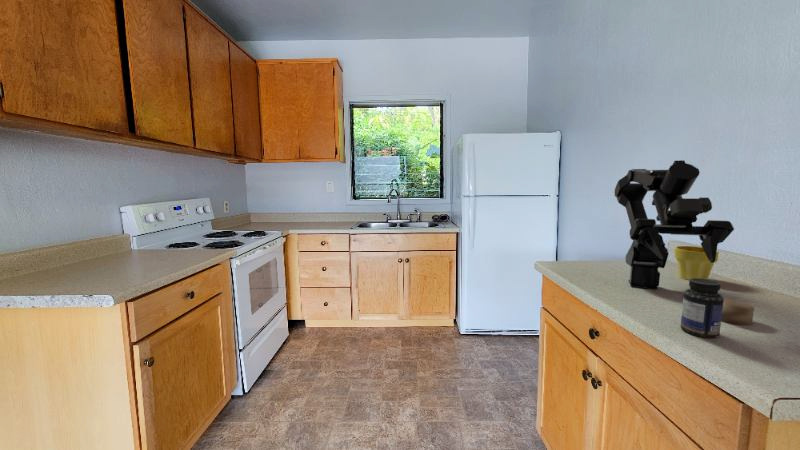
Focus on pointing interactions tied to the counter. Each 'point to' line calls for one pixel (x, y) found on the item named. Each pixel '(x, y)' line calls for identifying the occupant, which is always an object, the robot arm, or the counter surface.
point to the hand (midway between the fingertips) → (687, 260)
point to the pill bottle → (702, 308)
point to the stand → (737, 312)
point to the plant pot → (693, 262)
